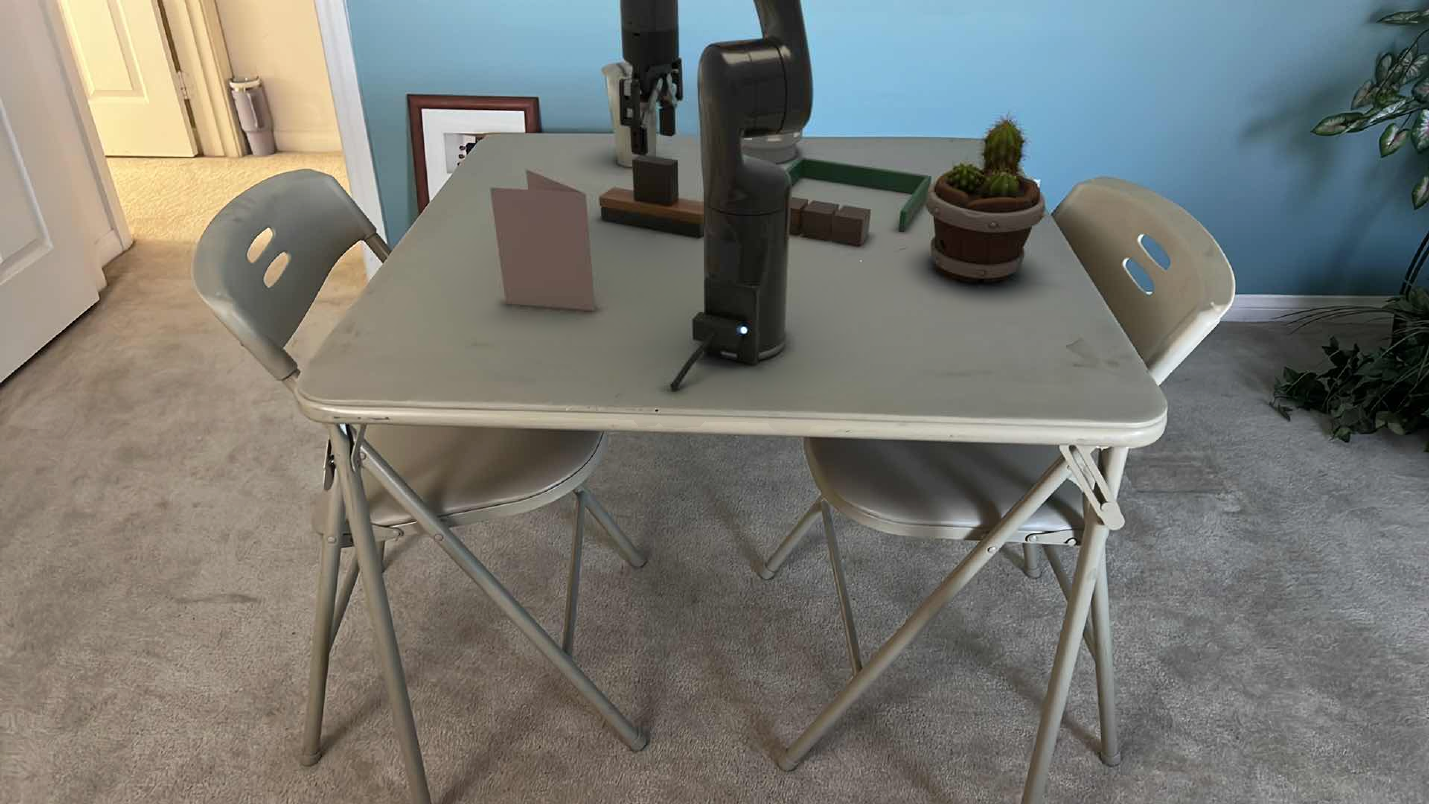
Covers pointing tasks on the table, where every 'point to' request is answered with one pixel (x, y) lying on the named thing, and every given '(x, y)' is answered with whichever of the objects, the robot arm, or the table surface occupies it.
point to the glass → (623, 132)
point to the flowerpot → (985, 211)
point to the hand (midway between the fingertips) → (654, 144)
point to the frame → (867, 181)
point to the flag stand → (772, 147)
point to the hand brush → (654, 200)
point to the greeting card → (544, 244)
